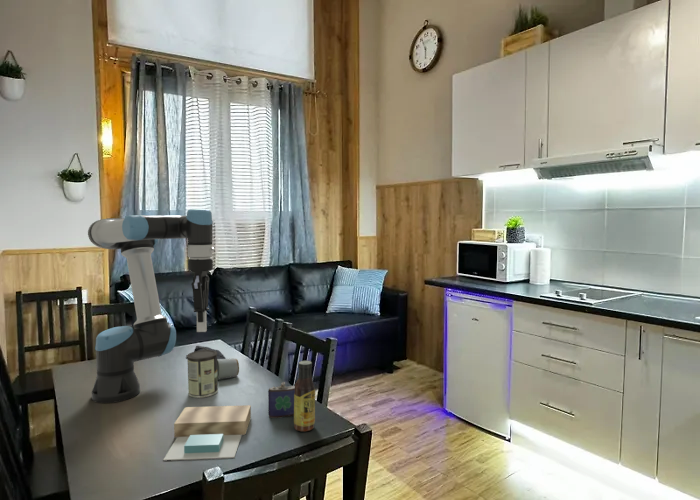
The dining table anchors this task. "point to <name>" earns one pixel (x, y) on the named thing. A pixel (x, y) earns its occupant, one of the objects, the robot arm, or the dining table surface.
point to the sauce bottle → (304, 398)
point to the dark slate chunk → (219, 354)
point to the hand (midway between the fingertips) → (201, 331)
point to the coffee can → (202, 373)
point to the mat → (225, 451)
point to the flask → (281, 401)
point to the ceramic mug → (227, 368)
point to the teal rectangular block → (203, 443)
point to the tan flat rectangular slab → (213, 420)
